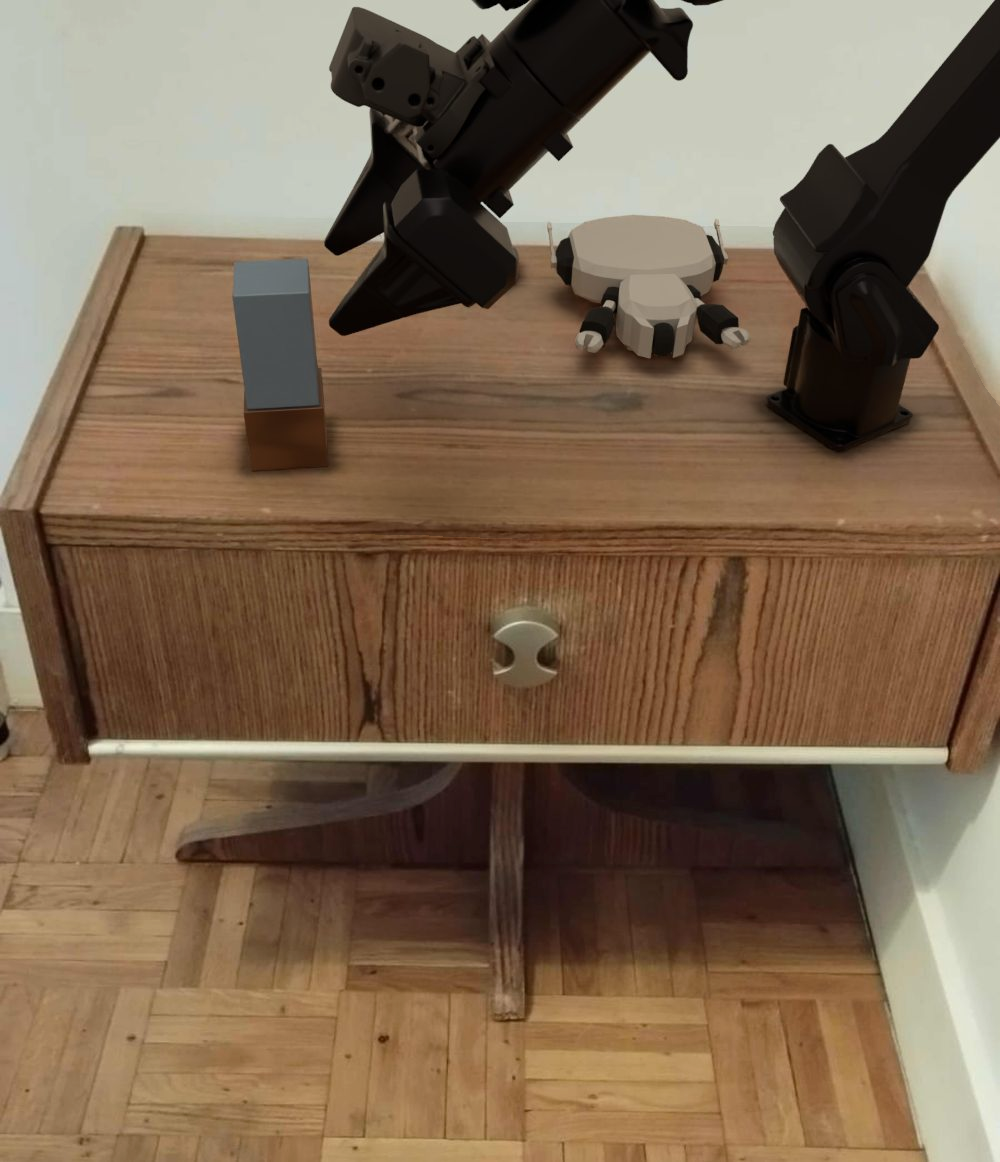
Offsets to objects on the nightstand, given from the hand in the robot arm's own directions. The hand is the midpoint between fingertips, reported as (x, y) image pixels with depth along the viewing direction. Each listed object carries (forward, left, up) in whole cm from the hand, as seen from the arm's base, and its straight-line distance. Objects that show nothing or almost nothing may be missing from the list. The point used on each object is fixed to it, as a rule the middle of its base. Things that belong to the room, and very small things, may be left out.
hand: (332, 287), depth 70 cm
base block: (+1, +3, -10) cm, 11 cm away
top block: (+1, +3, -6) cm, 7 cm away
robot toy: (+2, -25, -10) cm, 27 cm away
